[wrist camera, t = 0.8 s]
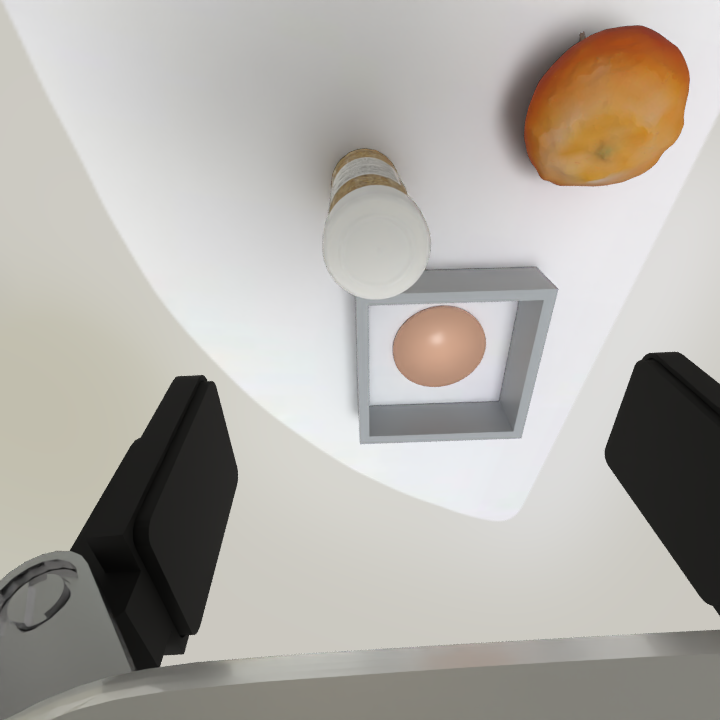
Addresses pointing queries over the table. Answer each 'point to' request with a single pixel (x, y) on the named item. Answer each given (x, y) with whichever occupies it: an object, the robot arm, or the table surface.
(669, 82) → the fruit
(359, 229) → the sprinkles bottle
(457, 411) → the grey square tray
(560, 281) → the table surface
